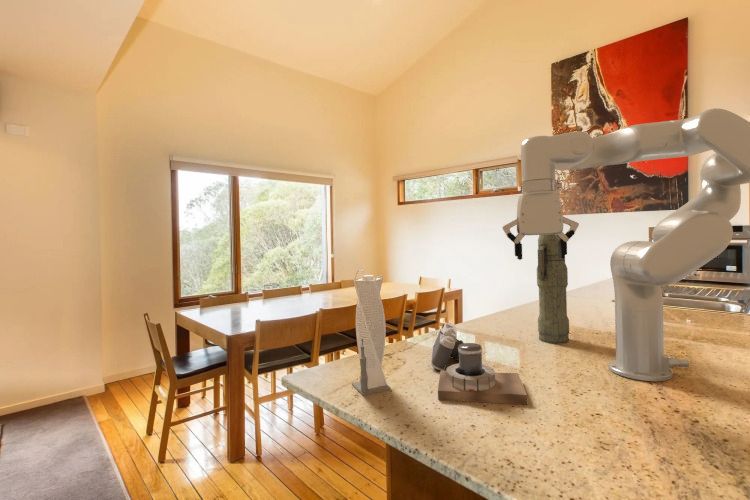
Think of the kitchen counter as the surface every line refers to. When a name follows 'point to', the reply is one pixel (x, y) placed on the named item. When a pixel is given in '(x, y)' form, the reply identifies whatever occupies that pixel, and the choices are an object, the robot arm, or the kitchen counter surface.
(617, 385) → the kitchen counter surface
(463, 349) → the lens
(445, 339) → the camera
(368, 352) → the skyscraper
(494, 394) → the mount board
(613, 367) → the robot arm
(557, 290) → the thermos
